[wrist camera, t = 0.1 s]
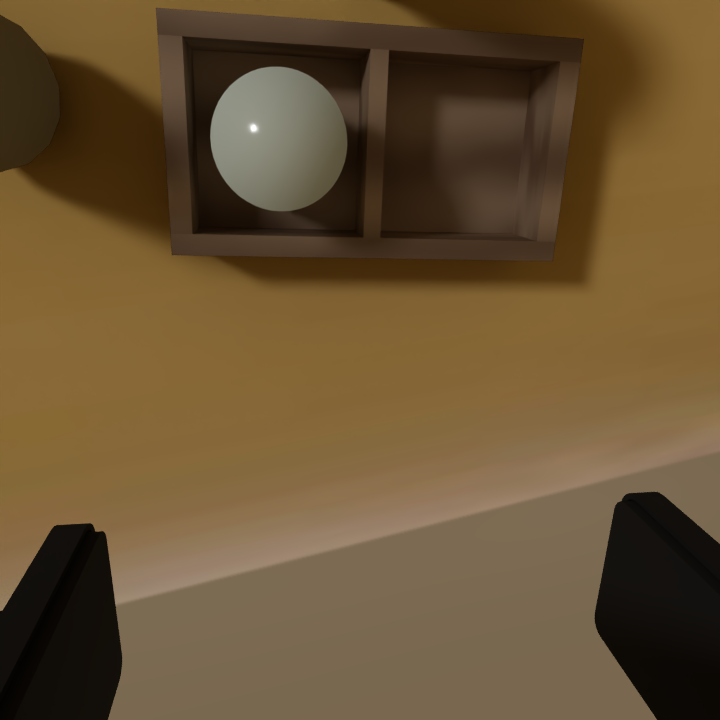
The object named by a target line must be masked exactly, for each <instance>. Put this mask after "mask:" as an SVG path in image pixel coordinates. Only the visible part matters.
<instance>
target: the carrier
mask: <svg viewBox="0 0 720 720" xmlns="http://www.w3.org/2000/svg"><path fill="white" fill-rule="evenodd" d="M156 15H157V31H158V46H159V62H160V77H161V93H162V108H163V124H164V140H165V155H166V171H167V186H168V202H169V217H170V233H171V248H172V255H194V256H258V257H321V258H385V259H448V260H512V261H553V255H554V248H555V240H556V233H557V226H558V219H559V212H560V205H561V198H562V191H563V184H564V176H565V169H566V162H567V155H568V148H569V141H570V134H571V127H572V120H573V113H574V105H575V98H576V91H577V84H578V77H579V70H580V63H581V56H582V49H583V41H584V39H578V38H564V37H550V36H537V35H523V34H509V33H495V32H482V31H468V30H454V29H440V28H427V27H413V26H399V25H385V24H372V23H358V22H344V21H330V20H317V19H303V18H289V17H275V16H262V15H248V14H234V13H220V12H207V11H193V10H179V9H165V8H156ZM266 67H286V68H291V69H294V70H298V71H300V72H303V73H305V74H307V75H309V76H310V77H312V78H314V79H315V80H316V81H318V82H319V83H320V84H321V85H322V86H323V87H324V88H325V89H326V90H327V91H328V92H329V93H330V94H331V96H332V97H333V98H334V100H335V101H336V103H337V105H338V107H339V109H340V111H341V113H342V116H343V119H344V122H345V126H346V132H347V153H346V158H345V163H344V166H343V168H342V171H341V173H340V175H339V177H338V179H337V181H336V182H335V184H334V185H333V187H332V188H331V189H330V190H329V191H328V192H327V193H326V194H325V195H324V196H323V197H322V198H320V199H319V200H317V201H316V202H314V203H313V204H311V205H309V206H306V207H304V208H301V209H297V210H292V211H271V210H267V209H263V208H260V207H257V206H255V205H253V204H251V203H249V202H247V201H246V200H244V199H243V198H241V197H240V196H239V195H238V194H236V193H235V192H234V191H233V190H232V189H231V188H230V186H229V185H228V184H227V183H226V182H225V180H224V179H223V177H222V176H221V174H220V172H219V170H218V168H217V166H216V163H215V160H214V158H213V153H212V149H211V140H210V133H211V123H212V118H213V114H214V111H215V108H216V106H217V104H218V102H219V100H220V98H221V97H222V95H223V94H224V92H225V91H226V90H227V89H228V87H229V86H230V85H231V84H233V83H234V82H235V81H236V80H237V79H239V78H240V77H242V76H243V75H245V74H247V73H249V72H251V71H254V70H257V69H260V68H266Z"/></svg>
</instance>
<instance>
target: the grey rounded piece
mask: <svg viewBox="0 0 720 720" xmlns="http://www.w3.org/2000/svg"><path fill="white" fill-rule="evenodd" d="M210 140H211V149H212V153H213V158H214V160H215V163H216V166H217V168H218V170H219V172H220V174H221V176H222V177H223V179H224V180H225V182H226V183H227V184H228V185H229V186H230V188H231V189H232V190H233V191H234V192H235V193H236V194H238V195H239V196H240V197H241V198H243V199H244V200H246V201H247V202H249V203H251V204H253V205H255V206H257V207H260V208H263V209H267V210H271V211H292V210H297V209H301V208H304V207H306V206H309V205H311V204H313V203H314V202H316V201H317V200H319V199H320V198H322V197H323V196H324V195H325V194H326V193H327V192H328V191H329V190H330V189H331V188H332V187H333V185H334V184H335V182H336V181H337V179H338V177H339V175H340V173H341V171H342V168H343V166H344V163H345V158H346V153H347V132H346V126H345V122H344V119H343V116H342V113H341V111H340V109H339V107H338V105H337V103H336V101H335V100H334V98H333V97H332V96H331V94H330V93H329V92H328V91H327V90H326V89H325V88H324V87H323V86H322V85H321V84H320V83H319V82H318V81H316V80H315V79H314V78H312V77H310V76H309V75H307V74H305V73H303V72H300V71H298V70H294V69H291V68H286V67H266V68H260V69H257V70H254V71H251V72H249V73H247V74H245V75H243V76H242V77H240V78H239V79H237V80H236V81H235V82H234V83H233V84H231V85H230V86H229V87H228V89H227V90H226V91H225V92H224V94H223V95H222V97H221V98H220V100H219V102H218V104H217V106H216V108H215V111H214V114H213V118H212V123H211V133H210Z"/></svg>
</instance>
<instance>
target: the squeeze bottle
mask: <svg viewBox="0 0 720 720" xmlns="http://www.w3.org/2000/svg"><path fill="white" fill-rule="evenodd" d="M59 119H60V96H59V85H58V82H57V80H56V78H55V75H54V73H53V71H52V68H51V66H50V64H49V61H48V59H47V57H46V54H45V53H44V52H43V51H42V49H41V48H40V47H39V46H38V45H37V44H36V43H35V42H34V41H33V39H32V38H31V37H30V36H29V35H28V34H27V33H26V32H25V31H24V29H23V28H22V27H21V26H19V25H17V24H16V23H14V22H12V21H10V20H8V19H7V18H5V17H3V16H1V15H0V172H2V171H5V170H9V169H12V168H15V167H19V166H22V165H25V164H29V163H30V162H31V161H32V160H33V159H34V158H35V157H36V156H38V155H39V154H40V153H41V152H42V151H43V150H44V149H45V148H46V147H47V146H48V145H50V142H51V140H52V137H53V134H54V132H55V129H56V127H57V124H58V122H59Z"/></svg>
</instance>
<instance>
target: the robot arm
mask: <svg viewBox="0 0 720 720" xmlns="http://www.w3.org/2000/svg"><path fill="white" fill-rule="evenodd" d="M595 624H596V628H597V630H598V633H599V635H600V637H601V638H602V640H603V641H604V642H605V644H606V645H607V647H608V648H609V650H610V651H611V653H612V654H613V656H614V657H615V659H616V660H617V662H618V663H619V665H620V666H621V667H622V669H623V670H624V672H625V673H626V675H627V676H628V678H629V679H630V680H631V682H632V684H633V685H634V686H635V688H636V689H637V691H638V692H639V694H640V695H641V697H642V698H643V700H644V701H645V702H646V704H647V705H648V707H649V708H650V710H651V711H652V713H653V714H654V716H655V717H656V719H657V720H720V544H719V543H718V542H717V541H716V540H714V539H713V538H712V537H711V536H710V535H708V534H707V533H706V532H705V531H704V530H703V529H702V528H700V527H699V526H698V525H697V524H696V523H695V522H694V521H692V520H691V519H690V518H689V517H688V516H687V515H685V514H684V513H683V512H682V511H681V510H680V509H678V508H677V507H676V506H675V505H674V504H673V503H671V502H670V501H669V500H668V499H667V498H666V497H665V496H663V495H662V494H660V493H658V492H644V493H629V494H626V495H625V496H624V497H623V499H622V501H621V502H618V503H617V504H616V506H615V509H614V514H613V519H612V525H611V530H610V535H609V541H608V546H607V551H606V557H605V562H604V568H603V573H602V578H601V584H600V589H599V595H598V599H597V605H596V610H595ZM121 667H122V652H121V645H120V636H119V629H118V621H117V614H116V606H115V599H114V591H113V584H112V576H111V569H110V561H109V553H108V546H107V539H106V535H105V532H103V531H100V532H95V529H94V527H93V525H92V524H91V523H88V524H70V525H56V526H54V527H53V528H52V530H51V531H50V533H49V535H48V536H47V538H46V540H45V541H44V543H43V545H42V546H41V548H40V550H39V551H38V553H37V554H36V556H35V558H34V559H33V561H32V563H31V564H30V566H29V568H28V569H27V571H26V573H25V574H24V576H23V578H22V579H21V581H20V583H19V584H18V586H17V588H16V589H15V591H14V593H13V594H12V596H11V598H10V599H9V601H8V603H7V604H6V606H5V608H4V609H3V611H0V720H108V717H109V714H110V710H111V707H112V703H113V700H114V697H115V693H116V690H117V687H118V683H119V679H120V676H121Z"/></svg>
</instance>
